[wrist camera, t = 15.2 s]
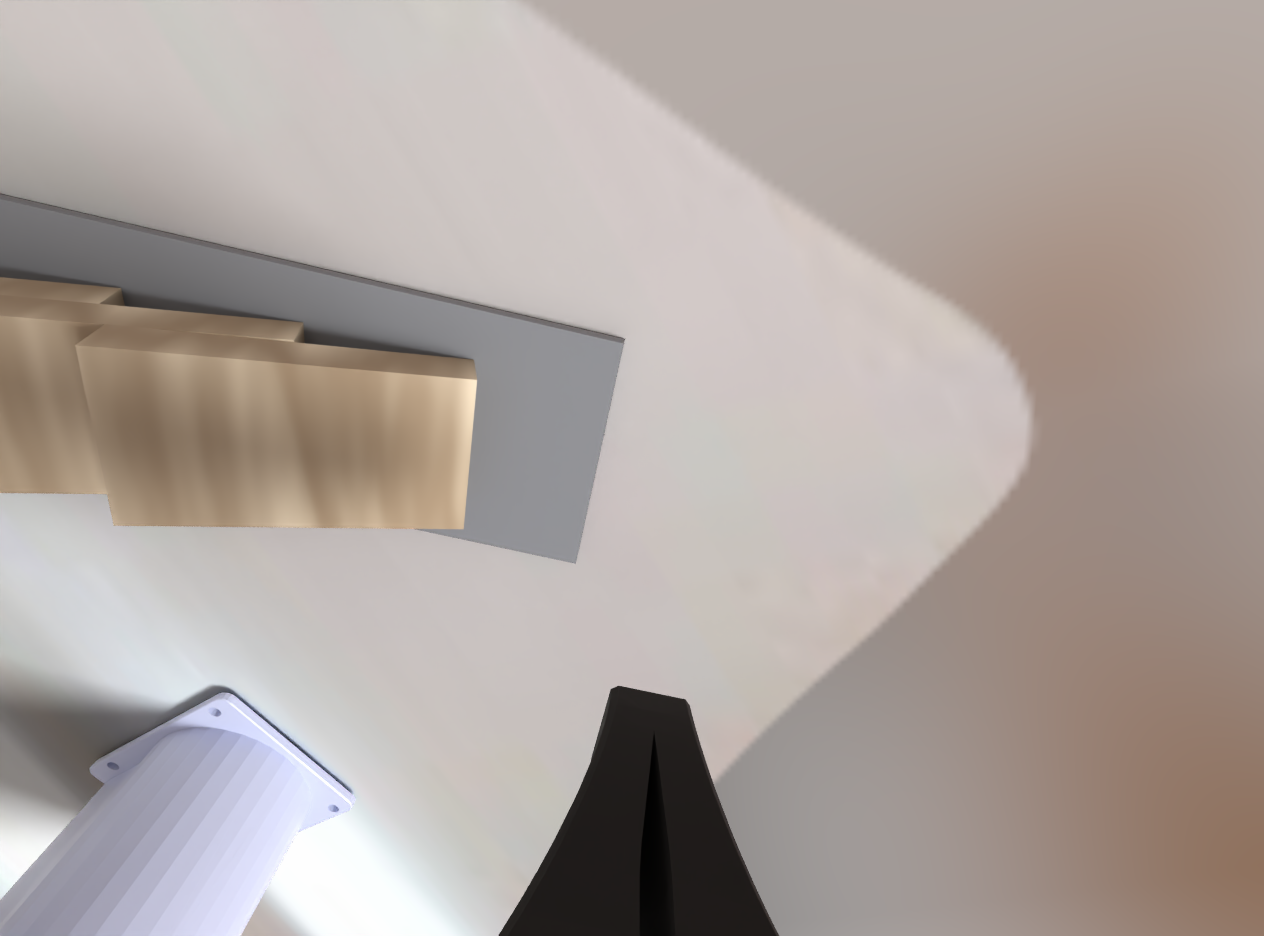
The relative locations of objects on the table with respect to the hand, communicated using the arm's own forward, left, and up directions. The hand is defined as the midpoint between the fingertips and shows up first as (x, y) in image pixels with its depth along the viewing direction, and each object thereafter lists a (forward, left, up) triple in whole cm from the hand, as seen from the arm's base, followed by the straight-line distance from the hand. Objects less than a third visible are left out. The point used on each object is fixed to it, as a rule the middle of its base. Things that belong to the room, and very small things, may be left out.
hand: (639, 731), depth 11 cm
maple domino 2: (-4, +4, -9) cm, 11 cm away
